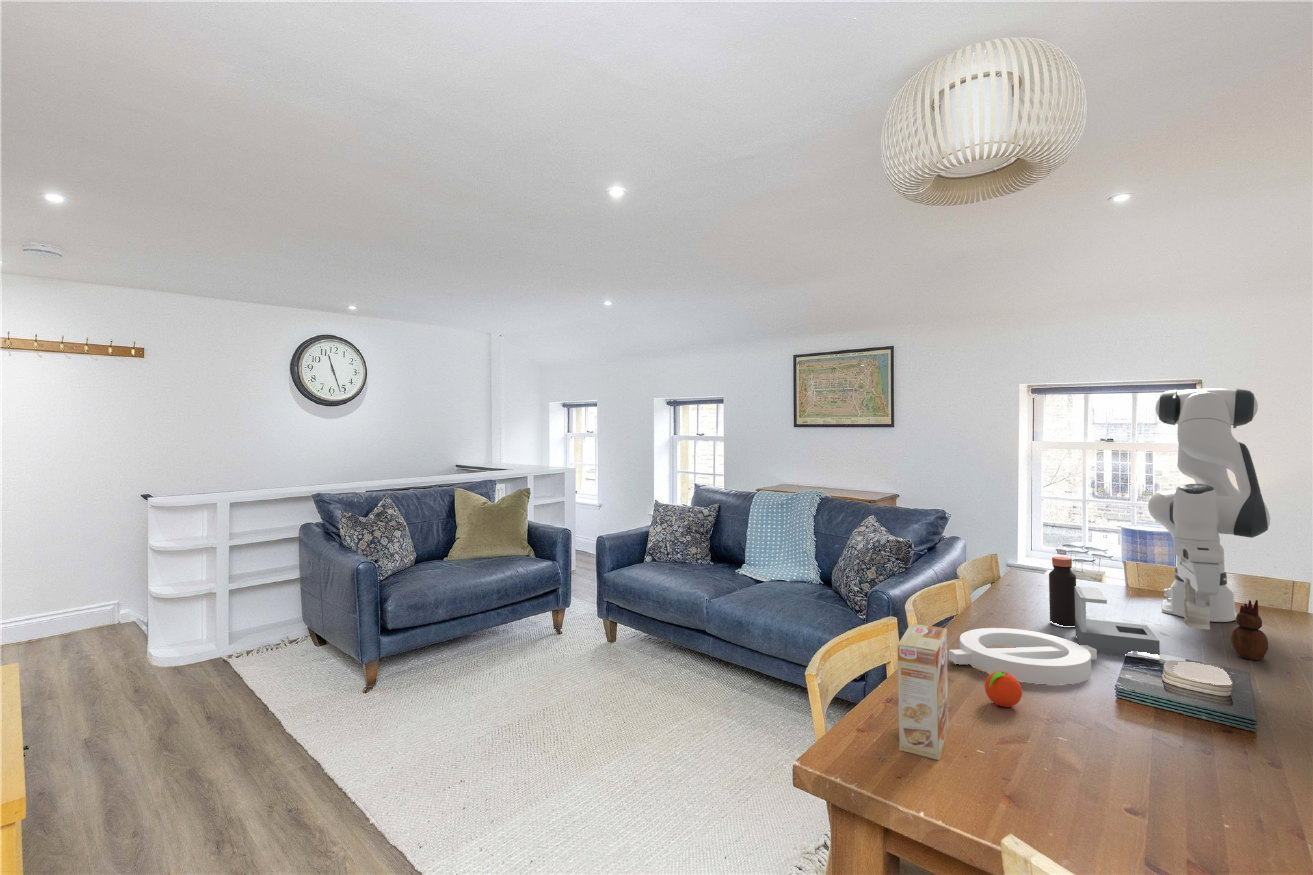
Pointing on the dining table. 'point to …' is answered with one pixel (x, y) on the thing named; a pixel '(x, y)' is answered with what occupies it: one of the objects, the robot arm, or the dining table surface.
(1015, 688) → the clementine
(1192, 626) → the peg
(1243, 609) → the wooden figurine
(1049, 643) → the ring with crossbar
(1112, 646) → the socket block
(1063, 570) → the bottle
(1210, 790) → the dining table surface
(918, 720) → the coffeecake box
